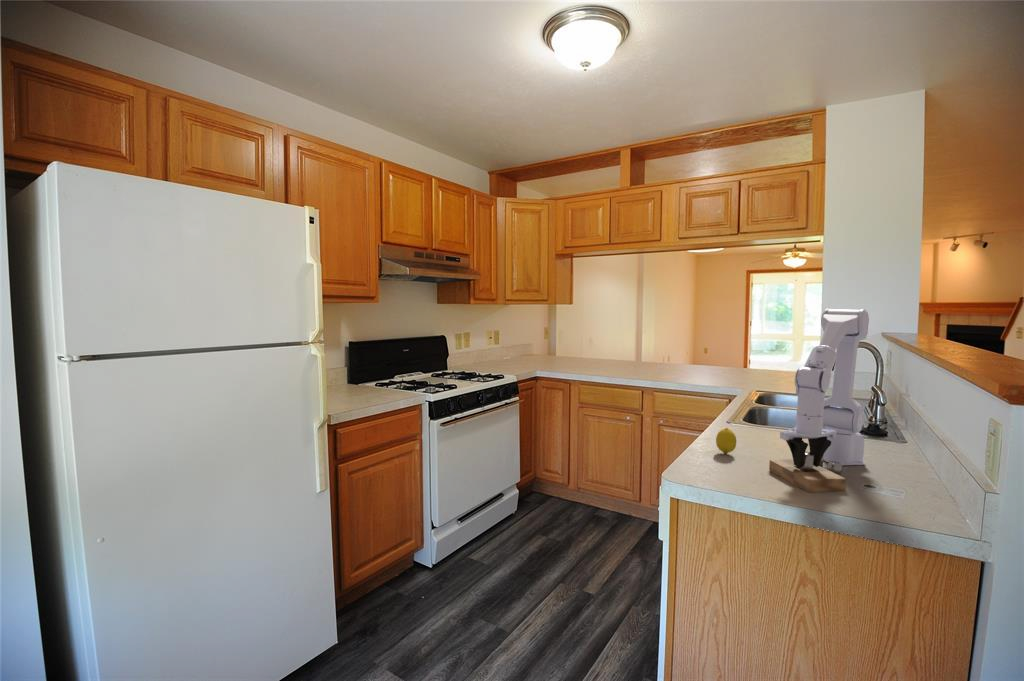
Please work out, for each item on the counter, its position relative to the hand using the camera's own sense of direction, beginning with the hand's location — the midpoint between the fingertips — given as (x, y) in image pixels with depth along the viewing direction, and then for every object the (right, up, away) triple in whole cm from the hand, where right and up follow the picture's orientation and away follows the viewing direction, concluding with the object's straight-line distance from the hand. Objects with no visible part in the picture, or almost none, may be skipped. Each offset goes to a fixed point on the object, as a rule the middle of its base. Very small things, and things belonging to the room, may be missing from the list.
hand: (806, 465), depth 119 cm
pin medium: (+9, -3, +10) cm, 13 cm away
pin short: (+10, -4, +4) cm, 11 cm away
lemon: (-12, -2, +20) cm, 23 cm away
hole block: (0, -4, 0) cm, 4 cm away
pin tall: (0, -4, +1) cm, 4 cm away
